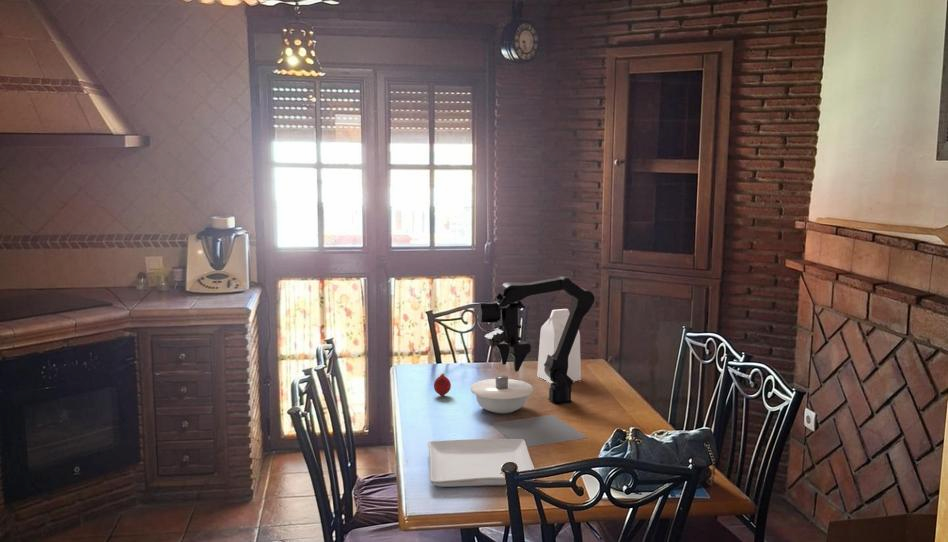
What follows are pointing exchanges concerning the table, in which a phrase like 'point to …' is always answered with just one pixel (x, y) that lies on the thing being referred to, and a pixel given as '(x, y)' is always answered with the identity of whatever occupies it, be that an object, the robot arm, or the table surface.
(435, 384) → the onion
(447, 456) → the square plate
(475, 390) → the lid
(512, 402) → the cereal bowl
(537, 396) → the table surface
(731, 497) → the table surface
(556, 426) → the mat
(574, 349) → the milk
